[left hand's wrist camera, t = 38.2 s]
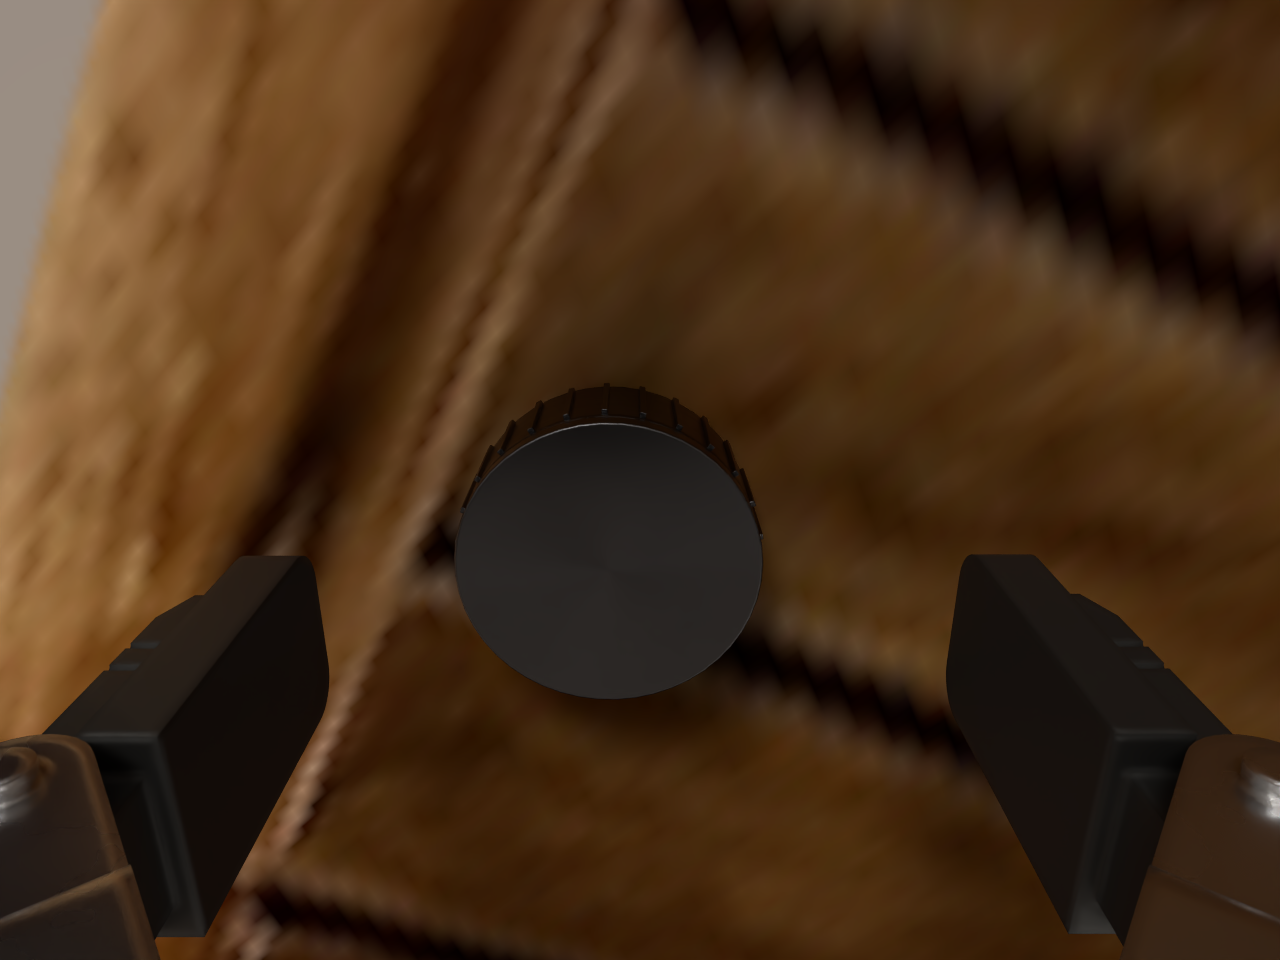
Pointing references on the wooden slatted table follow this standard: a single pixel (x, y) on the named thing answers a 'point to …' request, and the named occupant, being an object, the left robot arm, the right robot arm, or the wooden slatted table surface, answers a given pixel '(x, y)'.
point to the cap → (609, 544)
